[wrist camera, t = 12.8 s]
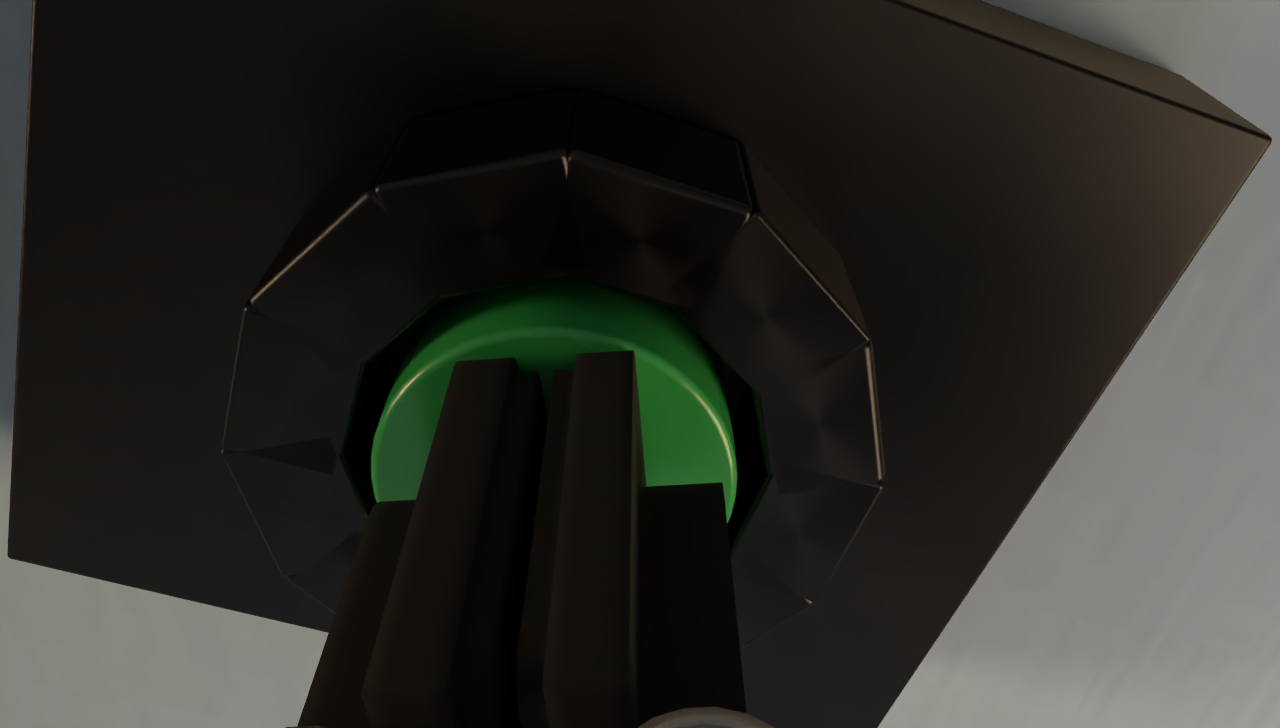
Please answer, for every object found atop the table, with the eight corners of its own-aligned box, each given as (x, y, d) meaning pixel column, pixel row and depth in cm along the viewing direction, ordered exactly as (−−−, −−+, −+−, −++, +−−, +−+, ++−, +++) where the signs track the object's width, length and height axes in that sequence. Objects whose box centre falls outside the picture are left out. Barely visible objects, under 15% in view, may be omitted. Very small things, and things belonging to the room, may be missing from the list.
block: (81, 457, 16) (-75, 666, 12) (147, -309, 11) (-82, -318, 7) (835, 646, 18) (882, 871, 14) (1182, 75, 13) (1382, 211, 9)
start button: (372, 472, 13) (336, 576, 11) (444, 201, 11) (413, 280, 9) (662, 548, 13) (666, 656, 12) (775, 303, 11) (796, 393, 10)
